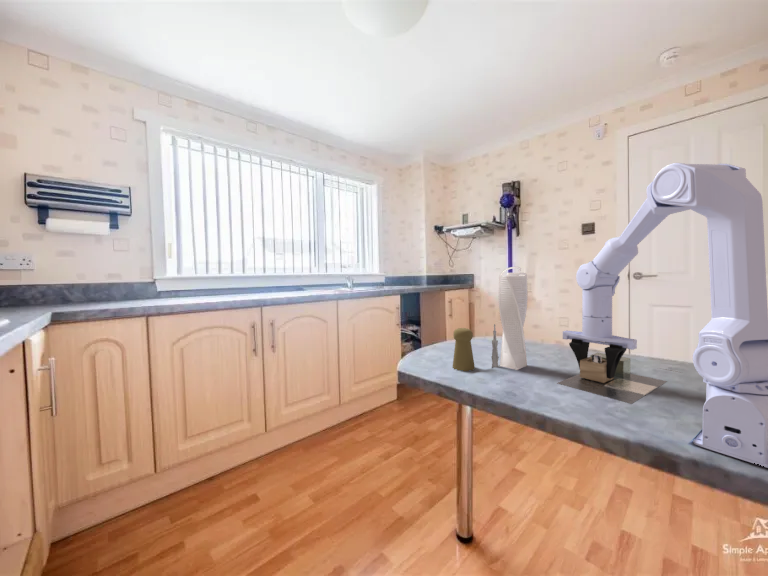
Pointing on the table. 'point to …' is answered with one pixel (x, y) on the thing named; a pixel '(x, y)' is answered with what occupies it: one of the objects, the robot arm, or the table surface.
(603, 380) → the wooden box
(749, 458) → the robot arm
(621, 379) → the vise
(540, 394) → the table surface
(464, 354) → the cork
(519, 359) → the skyscraper
